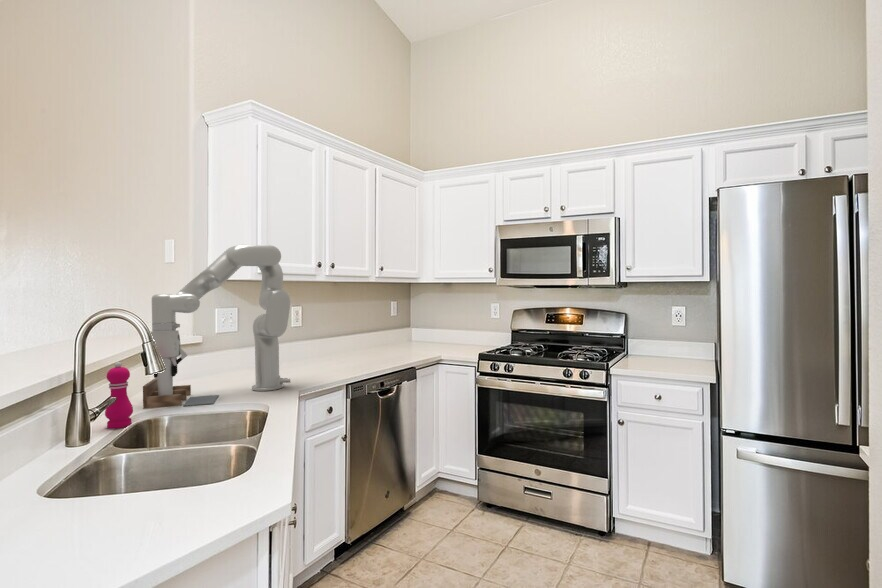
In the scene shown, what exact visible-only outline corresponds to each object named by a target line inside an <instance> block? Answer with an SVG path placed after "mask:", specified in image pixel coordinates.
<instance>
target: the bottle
mask: <svg viewBox="0 0 882 588" xmlns="http://www.w3.org/2000/svg"><path fill="white" fill-rule="evenodd" d="M162 359H163V362H164V364H165V367H166V370H165V371H164V372H162V373H157V381H158V396H162V395H173V386H174V385H173V384H174V383H173V381H174V376H172V366H173V362H172V360H171V358H162Z"/></svg>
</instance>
